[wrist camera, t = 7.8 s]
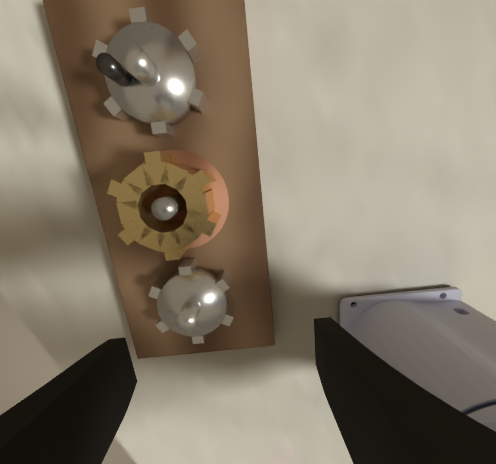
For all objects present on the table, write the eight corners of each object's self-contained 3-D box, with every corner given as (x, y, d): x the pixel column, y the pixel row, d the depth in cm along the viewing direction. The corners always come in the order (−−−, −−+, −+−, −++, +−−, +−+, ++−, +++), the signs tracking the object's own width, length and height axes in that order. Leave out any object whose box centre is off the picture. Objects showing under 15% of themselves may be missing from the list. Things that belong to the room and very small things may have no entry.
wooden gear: (224, 240, 16) (220, 255, 13) (146, 248, 16) (125, 265, 13) (213, 151, 15) (205, 145, 12) (126, 160, 15) (97, 157, 12)
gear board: (241, -14, 14) (241, -33, 12) (273, 334, 20) (275, 346, 18) (57, 8, 14) (39, -9, 13) (144, 347, 20) (137, 359, 19)
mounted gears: (196, 20, 13) (181, -29, 10) (237, 326, 18) (236, 359, 15) (100, 31, 13) (53, -14, 10) (167, 333, 18) (150, 367, 15)
